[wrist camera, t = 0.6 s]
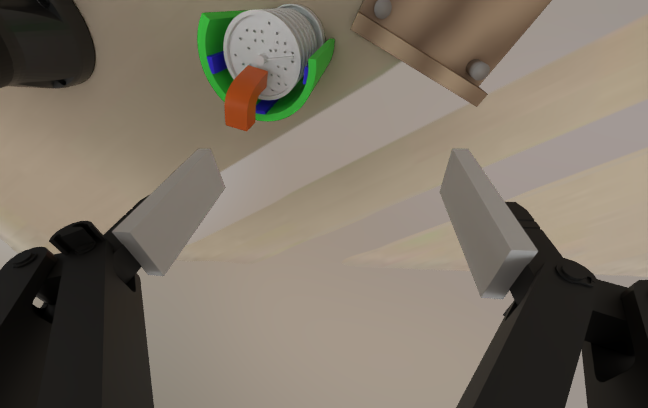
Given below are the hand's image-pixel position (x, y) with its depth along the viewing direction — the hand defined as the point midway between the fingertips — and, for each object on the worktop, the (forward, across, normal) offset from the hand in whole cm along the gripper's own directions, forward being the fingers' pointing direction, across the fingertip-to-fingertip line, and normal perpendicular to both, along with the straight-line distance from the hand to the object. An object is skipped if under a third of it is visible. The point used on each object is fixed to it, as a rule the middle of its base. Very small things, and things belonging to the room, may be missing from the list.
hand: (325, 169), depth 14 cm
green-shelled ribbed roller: (+23, -6, +3) cm, 24 cm away
